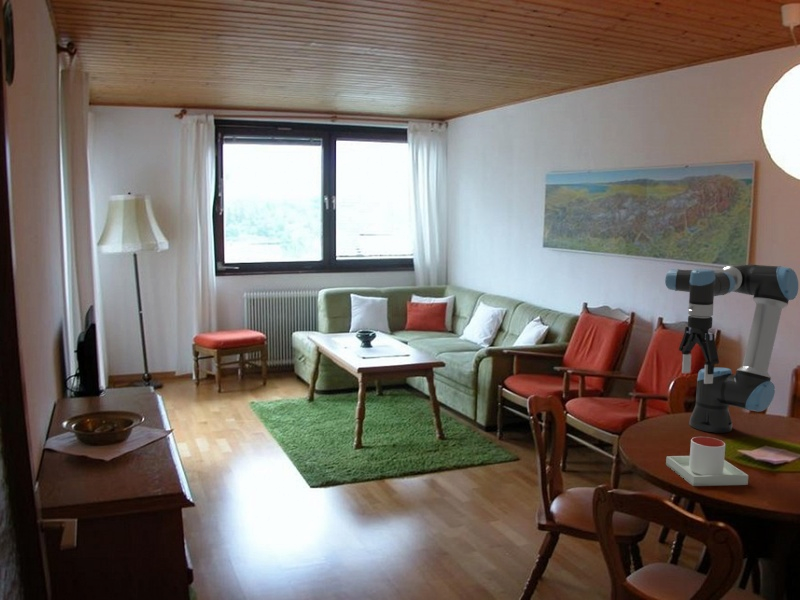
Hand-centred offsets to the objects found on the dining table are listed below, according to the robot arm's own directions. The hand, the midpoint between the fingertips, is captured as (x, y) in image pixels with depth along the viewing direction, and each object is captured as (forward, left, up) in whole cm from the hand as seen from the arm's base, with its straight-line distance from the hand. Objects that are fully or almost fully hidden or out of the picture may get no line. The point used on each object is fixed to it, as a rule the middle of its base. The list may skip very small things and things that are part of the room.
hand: (696, 378), depth 240 cm
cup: (+4, +17, -27) cm, 32 cm away
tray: (+4, +17, -27) cm, 32 cm away
